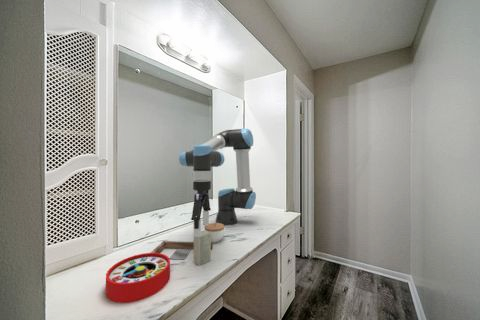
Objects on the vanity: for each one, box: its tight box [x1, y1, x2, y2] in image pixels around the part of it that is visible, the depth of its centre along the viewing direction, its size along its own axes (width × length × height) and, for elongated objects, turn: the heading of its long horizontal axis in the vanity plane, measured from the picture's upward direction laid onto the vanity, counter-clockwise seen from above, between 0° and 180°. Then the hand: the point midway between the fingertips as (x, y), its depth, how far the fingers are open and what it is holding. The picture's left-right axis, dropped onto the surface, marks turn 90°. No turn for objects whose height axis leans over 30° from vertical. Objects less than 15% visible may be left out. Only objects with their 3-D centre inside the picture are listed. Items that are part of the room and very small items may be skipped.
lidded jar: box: [204, 222, 226, 243], centre depth 103 cm, size 11×11×9 cm
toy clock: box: [105, 252, 171, 304], centre depth 67 cm, size 20×6×20 cm
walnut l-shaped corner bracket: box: [150, 240, 214, 261], centre depth 86 cm, size 16×25×3 cm, turn 86°
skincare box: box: [193, 229, 212, 266], centre depth 81 cm, size 6×4×12 cm
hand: (201, 230), depth 81 cm, fingers open, 13 cm apart
